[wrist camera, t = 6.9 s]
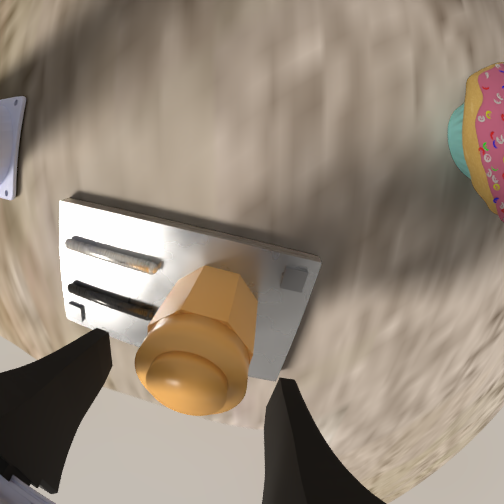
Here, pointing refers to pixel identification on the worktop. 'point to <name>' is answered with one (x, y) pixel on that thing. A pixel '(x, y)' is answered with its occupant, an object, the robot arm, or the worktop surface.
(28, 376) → the robot arm
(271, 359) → the plate
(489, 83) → the cupcake
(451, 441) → the worktop surface
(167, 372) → the acorn cap nut
